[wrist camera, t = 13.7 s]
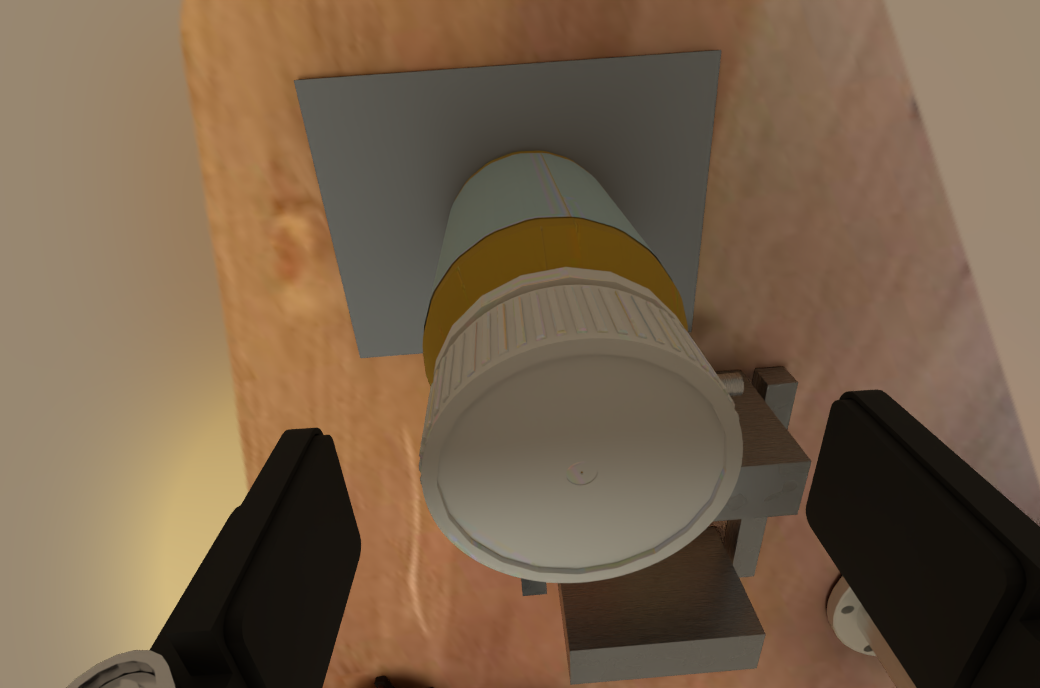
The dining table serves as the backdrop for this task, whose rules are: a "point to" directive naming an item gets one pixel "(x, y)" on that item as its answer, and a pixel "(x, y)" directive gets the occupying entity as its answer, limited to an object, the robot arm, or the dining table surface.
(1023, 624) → the robot arm
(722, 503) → the bottle
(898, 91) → the dining table surface
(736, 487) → the vise
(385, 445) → the dining table surface
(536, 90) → the mat
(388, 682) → the mate gourd
